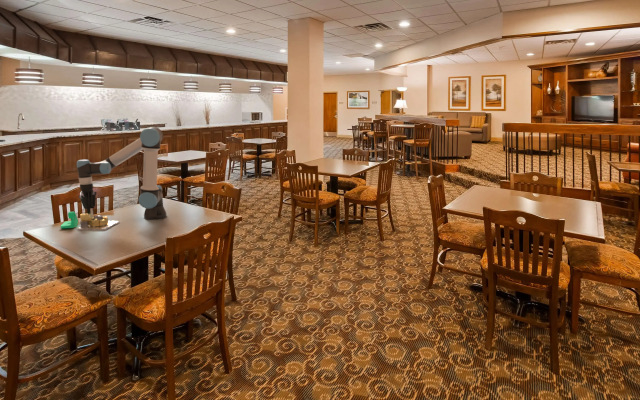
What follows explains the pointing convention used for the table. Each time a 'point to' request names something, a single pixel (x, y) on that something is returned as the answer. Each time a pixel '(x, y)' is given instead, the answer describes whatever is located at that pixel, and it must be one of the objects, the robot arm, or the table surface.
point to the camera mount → (71, 223)
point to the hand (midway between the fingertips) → (91, 217)
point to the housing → (104, 227)
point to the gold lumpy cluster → (94, 220)
